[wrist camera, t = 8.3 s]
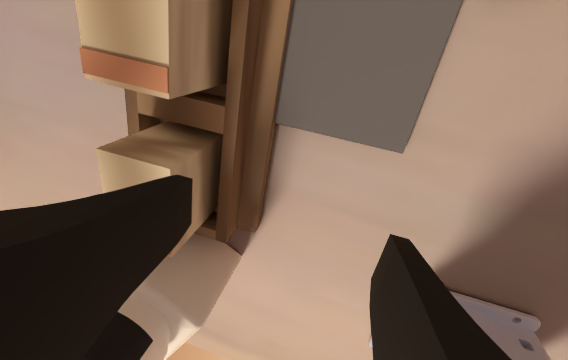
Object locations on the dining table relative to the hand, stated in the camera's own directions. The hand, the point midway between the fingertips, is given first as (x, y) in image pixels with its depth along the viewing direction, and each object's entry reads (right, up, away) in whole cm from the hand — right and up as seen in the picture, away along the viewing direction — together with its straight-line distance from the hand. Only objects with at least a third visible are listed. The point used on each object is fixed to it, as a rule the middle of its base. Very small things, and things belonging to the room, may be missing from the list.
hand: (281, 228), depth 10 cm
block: (-6, +3, +10) cm, 12 cm away
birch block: (-5, +10, +6) cm, 13 cm away
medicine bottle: (-8, -5, +15) cm, 18 cm away
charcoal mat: (+4, +8, +6) cm, 11 cm away
